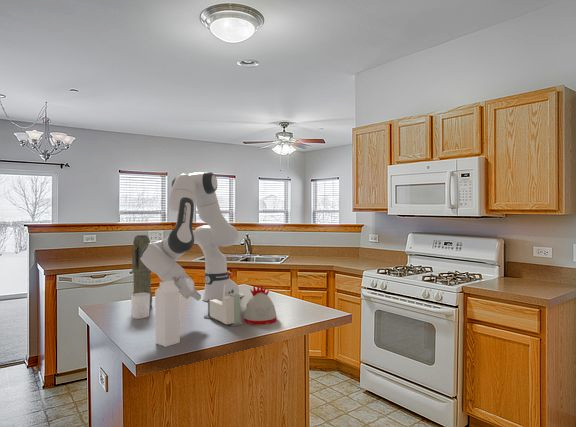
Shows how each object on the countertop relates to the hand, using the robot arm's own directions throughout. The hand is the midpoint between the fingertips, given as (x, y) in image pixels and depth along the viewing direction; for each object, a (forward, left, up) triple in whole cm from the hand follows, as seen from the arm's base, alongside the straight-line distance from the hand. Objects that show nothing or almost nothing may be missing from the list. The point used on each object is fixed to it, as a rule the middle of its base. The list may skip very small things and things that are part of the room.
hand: (199, 298), depth 165 cm
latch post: (-11, +9, -11) cm, 18 cm away
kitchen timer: (-21, +13, -12) cm, 28 cm away
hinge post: (-12, -7, -11) cm, 18 cm away
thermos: (-3, -48, -11) cm, 49 cm away
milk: (+21, +7, -11) cm, 25 cm away
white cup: (+7, -33, -12) cm, 35 cm away
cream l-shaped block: (-9, +2, -10) cm, 14 cm away
